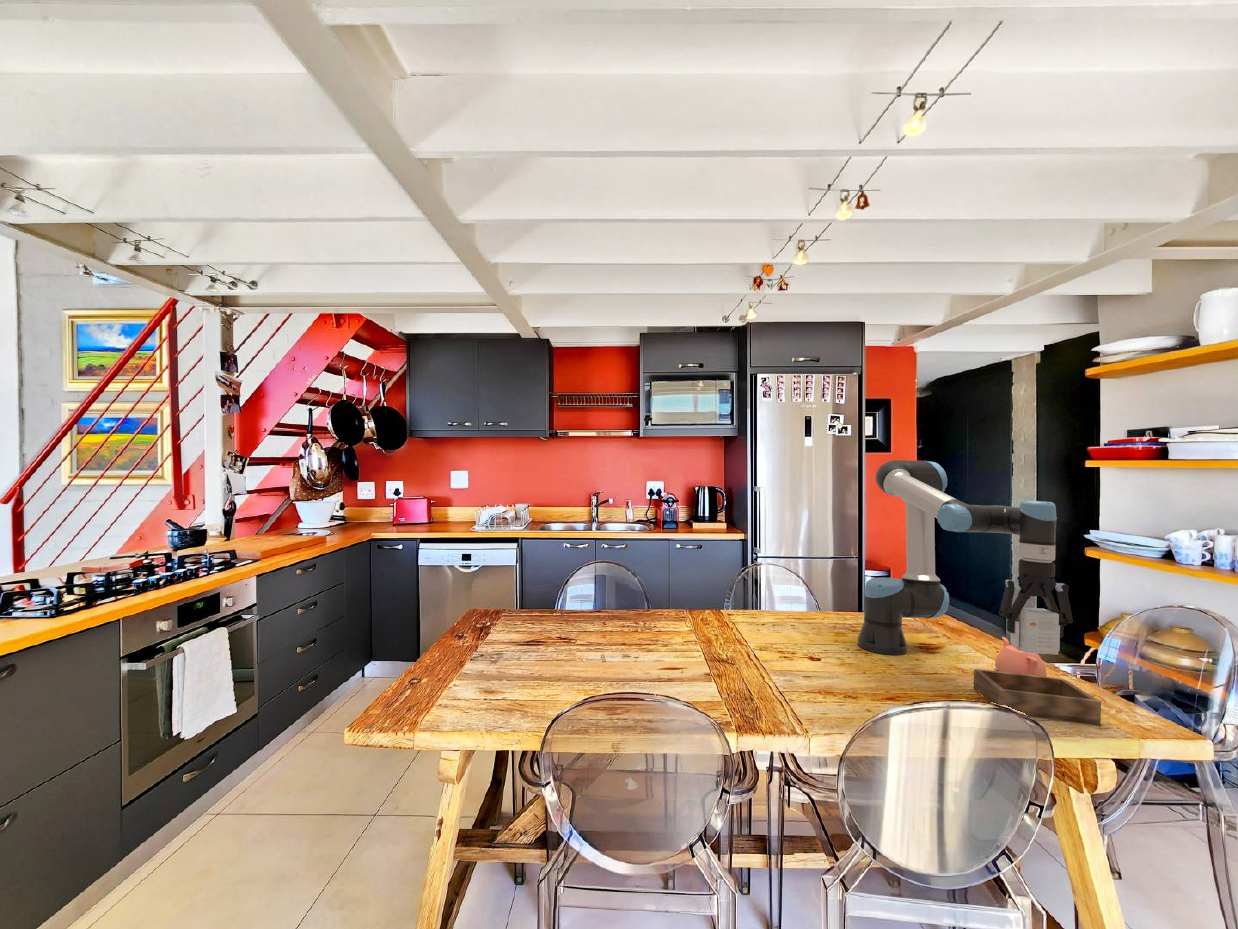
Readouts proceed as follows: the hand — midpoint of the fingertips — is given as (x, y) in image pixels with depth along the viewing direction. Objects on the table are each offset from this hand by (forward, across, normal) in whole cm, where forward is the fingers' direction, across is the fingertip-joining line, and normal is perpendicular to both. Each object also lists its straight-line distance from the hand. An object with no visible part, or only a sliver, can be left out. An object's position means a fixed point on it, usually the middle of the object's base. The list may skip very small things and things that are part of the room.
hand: (1034, 647), depth 138 cm
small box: (+1, 0, 0) cm, 1 cm away
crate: (+15, 0, 0) cm, 15 cm away
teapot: (+15, +8, +25) cm, 30 cm away
